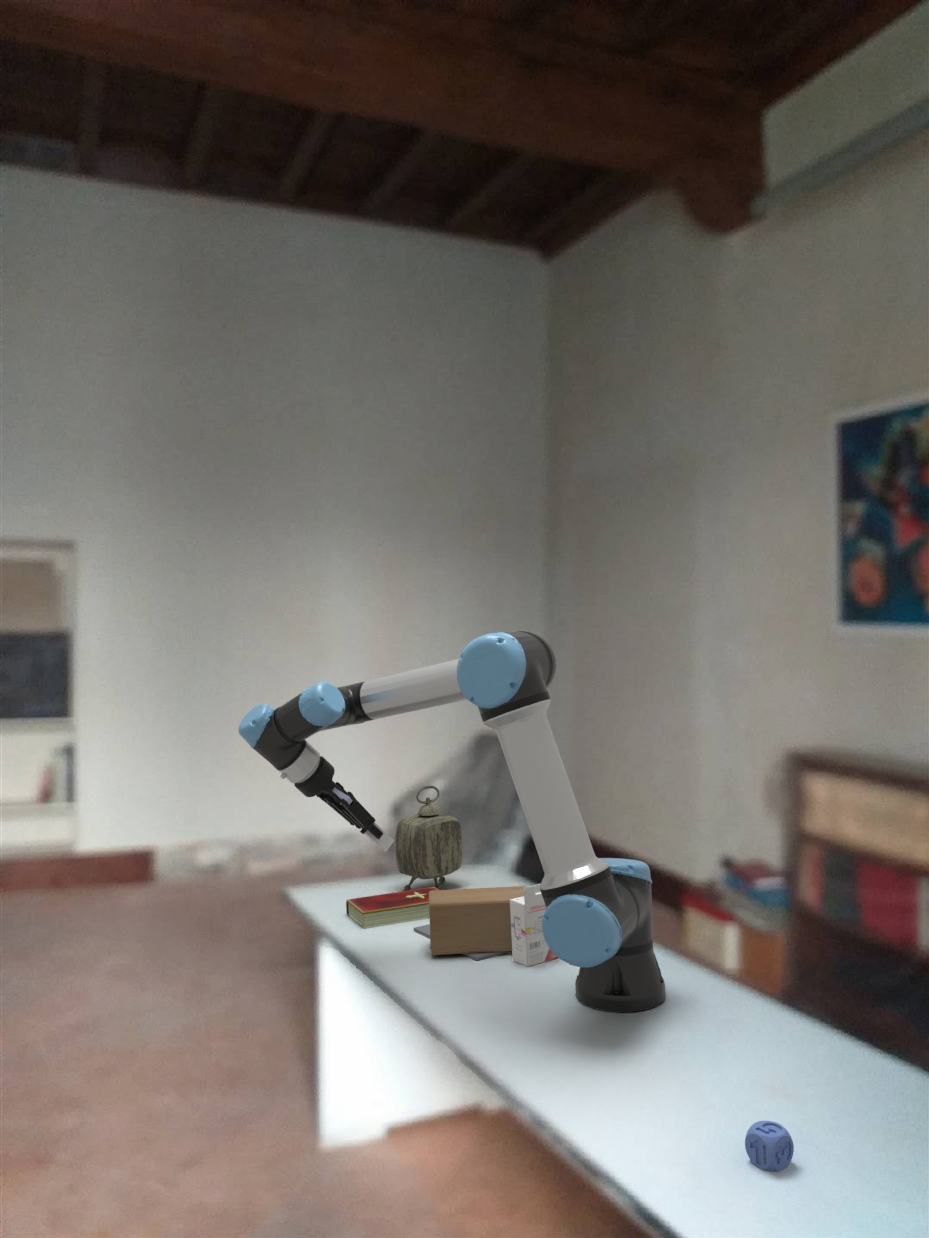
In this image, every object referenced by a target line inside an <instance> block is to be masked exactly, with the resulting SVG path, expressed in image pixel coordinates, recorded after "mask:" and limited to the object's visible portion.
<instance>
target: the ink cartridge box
mask: <svg viewBox="0 0 929 1238" xmlns="http://www.w3.org/2000/svg"><path fill="white" fill-rule="evenodd" d="M540 884H541V883H538V884H534V885H530V886H527V887H525V888H524V889H523V892H524V896H523V897H519V898H514V899H510V916H511V937H512V952H511V953H512V954H511V956H512V961H513V962H515V963H518V964H520V965H523V966H526V967H531V966H534V965H538V964H542V963H545V962H548V961H552V960H555V959H559V958H558V957H557V956H556V955H555V954H554V953H553V952H552V951H551V949H550V948H549V947H548V945H547V943H546V941H545V939H544V936H543V931H542V920H543V916H544V913H545V910H546V905H545V902H544V900H543V897H542V894H541V891H540V892H538V891H539V890H540ZM536 892H537V893H536Z"/></svg>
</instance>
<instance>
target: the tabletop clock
mask: <svg viewBox="0 0 929 1238" xmlns="http://www.w3.org/2000/svg"><path fill="white" fill-rule="evenodd" d="M428 789H433V790H435V791H436V792H437V795H436V797H434V798H433V799H431V798H430V797H426V798H425V800H420V799H419V795H420V793H421V792H422V791H424V790H428ZM415 797H416V798H415V799H416V801H417V802H418V803H419V804H422V805H421V806H420V807H419V810H418V812H417V813H414V814H412V815H408V816H405V817H403V818H401V819H400V820H398V821H397V824H396V829H395V835H394V836H395V840H394V843H395V844H394V845H395V846H394V850H395V858H396V859H395V860H396V865H397V869H398V872H399V874H401V875H406V876H410V878H411V879H410V880H409V883H408V884H405V886H404V889H403V891H408V890H412V885H413V883H414V882H415V881H416V879H420V880H431V879H433V882H434V884H435V885H434V886H433V887H436V888H437V889H439V890H442V889H441V885H440V884H438V881H439V883H441V884H444V883H445V882H446V877H445V876H447V875H450V874H453V873H454V872H457V871H458V870H459V869H460V868H461V867H462V862H463V838H462V837H463V835H462V828H461V824H460V822H459V820H458V818H457V817H455V816H454V815H453V816H452V815H448V814H442V813H440V811H439V809H438V808H437V806H436V805H434V804H432V803H435V802H437V800H438V799H439V797H440V790H439V788H438V787H436V786H434V785H425V786H422V787H421V788H419V789H418V791H417V792H416V795H415Z"/></svg>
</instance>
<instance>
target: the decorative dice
mask: <svg viewBox="0 0 929 1238" xmlns="http://www.w3.org/2000/svg"><path fill="white" fill-rule="evenodd" d="M794 1145H795V1144H794V1142H793V1138H792V1136H791V1134H790V1132H789V1131H788V1130H787V1128H785V1127H784V1126H783V1125H782V1124H781V1123H779V1122H776V1121H771V1120H758V1121H756V1122H754V1123H753V1124H752V1125H750V1127H749V1128H748V1129H747V1132H746V1135H745V1137H744V1148H745V1152H746V1154H747V1156H748V1158H749V1160H750V1161H751V1163H752V1164H754V1166H756V1168H758V1169H761V1170H763V1171H767V1172H780V1171H783V1170H785V1169H786V1168H787V1167H788V1166H789V1165H790V1163H791V1162H792V1159H793V1156H794V1152H795V1150H794V1149H795V1147H794Z"/></svg>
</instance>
